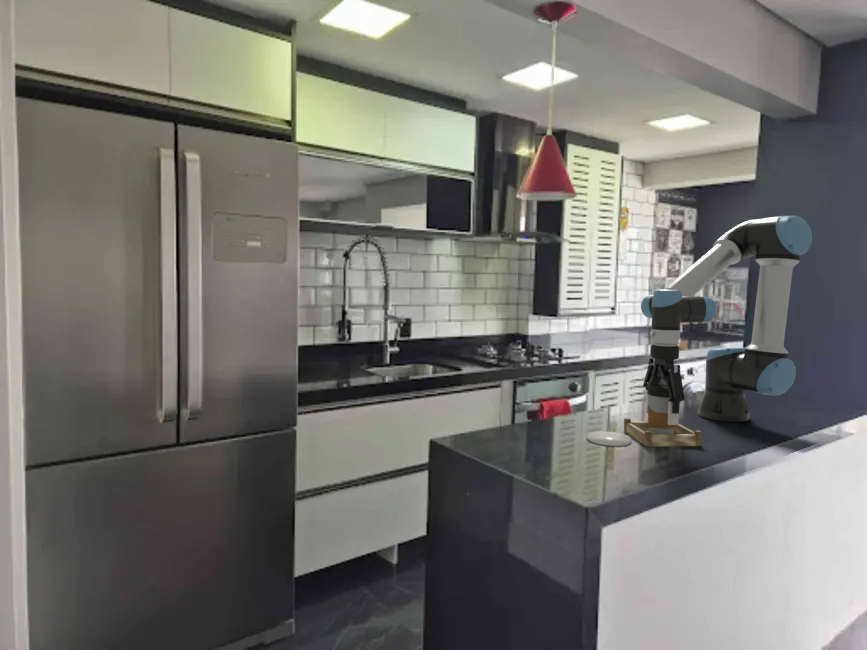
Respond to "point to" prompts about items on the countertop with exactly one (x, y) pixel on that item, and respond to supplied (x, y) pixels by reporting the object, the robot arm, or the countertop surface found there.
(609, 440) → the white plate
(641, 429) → the wooden frame
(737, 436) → the countertop surface
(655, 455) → the countertop surface
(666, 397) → the coffee cup
